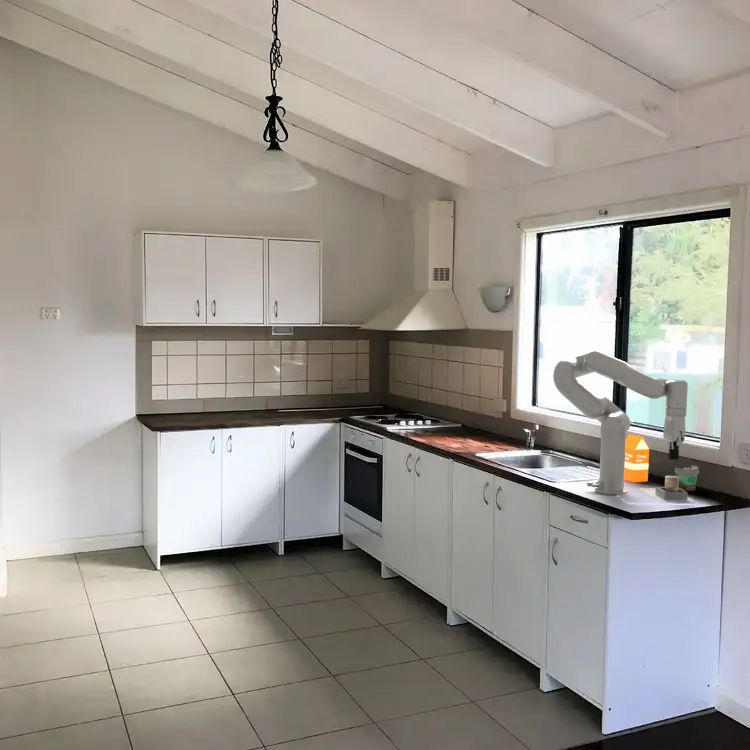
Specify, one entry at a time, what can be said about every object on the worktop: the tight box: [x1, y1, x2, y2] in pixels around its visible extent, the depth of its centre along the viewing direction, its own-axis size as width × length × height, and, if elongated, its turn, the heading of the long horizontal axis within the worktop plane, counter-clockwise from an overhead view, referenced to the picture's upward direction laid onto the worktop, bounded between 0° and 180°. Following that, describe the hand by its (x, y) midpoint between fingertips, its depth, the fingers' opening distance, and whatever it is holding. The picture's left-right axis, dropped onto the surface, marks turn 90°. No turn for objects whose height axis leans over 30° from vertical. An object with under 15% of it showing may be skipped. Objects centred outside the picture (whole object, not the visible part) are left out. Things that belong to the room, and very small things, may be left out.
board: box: [638, 487, 695, 502], centre depth 326 cm, size 14×22×1 cm, turn 2°
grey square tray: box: [655, 486, 689, 500], centre depth 321 cm, size 9×9×3 cm
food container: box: [673, 464, 700, 492], centre depth 335 cm, size 12×6×10 cm, turn 126°
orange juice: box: [624, 433, 650, 483], centre depth 353 cm, size 8×9×20 cm
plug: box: [664, 475, 679, 492], centre depth 320 cm, size 5×5×8 cm
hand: (673, 459), depth 319 cm, fingers closed
